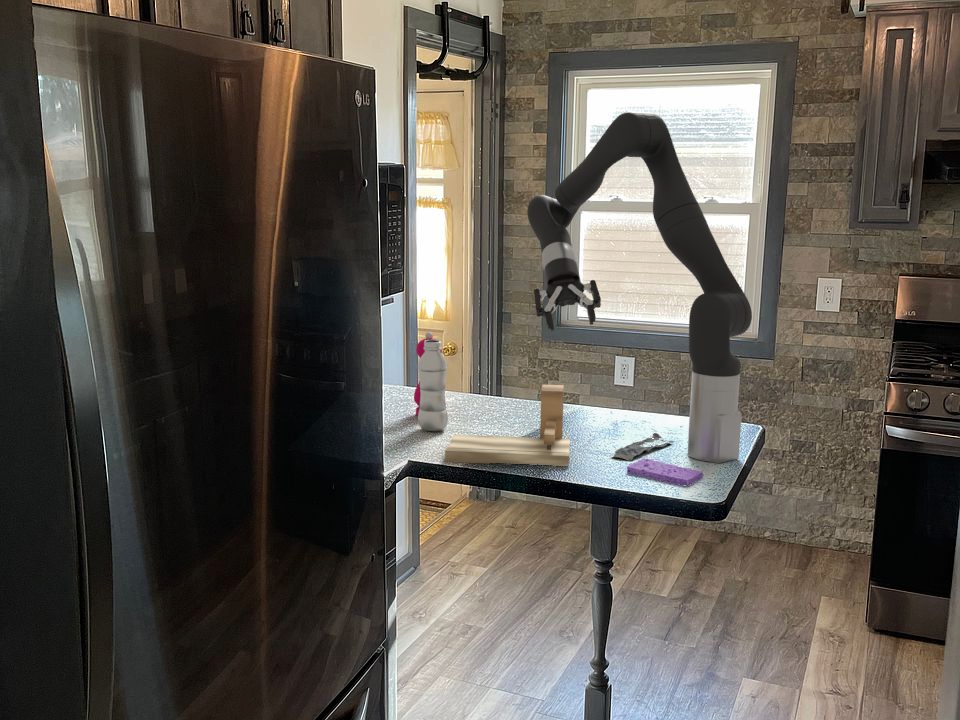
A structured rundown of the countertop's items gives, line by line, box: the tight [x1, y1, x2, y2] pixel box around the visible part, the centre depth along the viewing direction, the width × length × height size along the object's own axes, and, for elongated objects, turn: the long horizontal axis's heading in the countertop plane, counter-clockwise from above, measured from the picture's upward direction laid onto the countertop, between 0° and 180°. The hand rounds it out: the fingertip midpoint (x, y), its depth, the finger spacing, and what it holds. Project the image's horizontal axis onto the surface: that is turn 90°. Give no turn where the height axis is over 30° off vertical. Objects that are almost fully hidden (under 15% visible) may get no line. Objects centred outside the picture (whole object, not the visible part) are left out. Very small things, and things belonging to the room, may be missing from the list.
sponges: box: [626, 457, 704, 486], centre depth 163 cm, size 7×13×2 cm, turn 52°
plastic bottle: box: [417, 339, 449, 432], centre depth 191 cm, size 6×7×20 cm
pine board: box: [444, 434, 571, 467], centre depth 175 cm, size 12×24×2 cm, turn 83°
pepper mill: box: [413, 331, 443, 418], centre depth 204 cm, size 7×7×20 cm
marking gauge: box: [539, 384, 565, 450], centre depth 177 cm, size 18×4×12 cm, turn 173°
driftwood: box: [610, 432, 675, 462], centre depth 181 cm, size 21×7×2 cm, turn 137°
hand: (572, 325), depth 188 cm, fingers open, 8 cm apart
